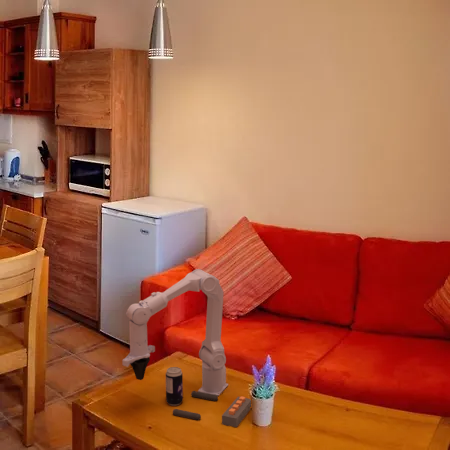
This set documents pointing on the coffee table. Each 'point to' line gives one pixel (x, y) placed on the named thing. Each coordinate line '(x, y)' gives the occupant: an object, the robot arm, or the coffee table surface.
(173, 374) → the beverage can
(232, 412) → the breaker strip
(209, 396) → the cord
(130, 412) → the coffee table surface
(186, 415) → the cord
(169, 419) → the coffee table surface
